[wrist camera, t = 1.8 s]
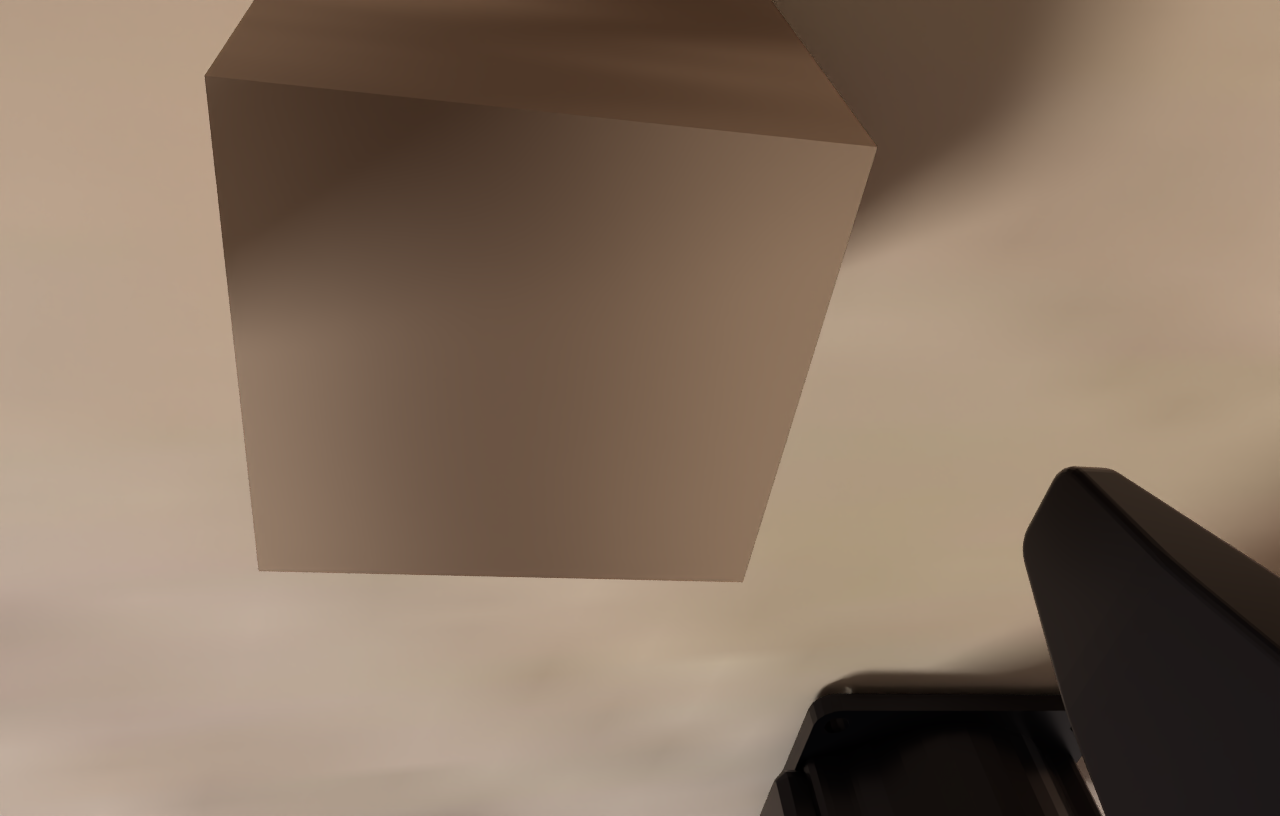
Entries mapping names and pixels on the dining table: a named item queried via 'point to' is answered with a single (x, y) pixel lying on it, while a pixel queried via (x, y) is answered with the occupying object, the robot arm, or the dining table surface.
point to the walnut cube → (524, 278)
